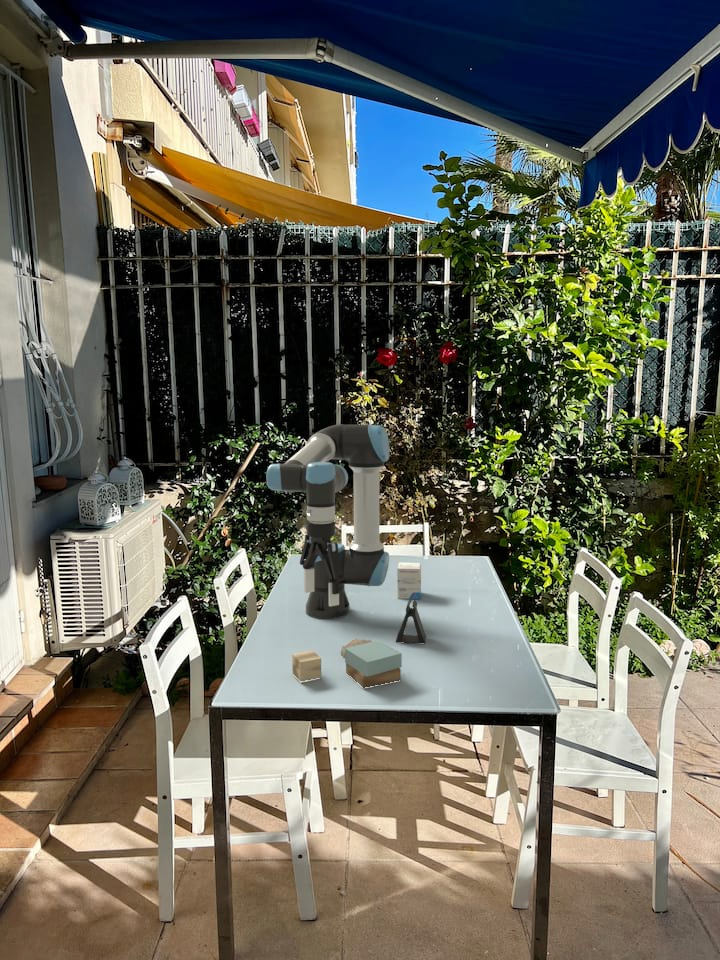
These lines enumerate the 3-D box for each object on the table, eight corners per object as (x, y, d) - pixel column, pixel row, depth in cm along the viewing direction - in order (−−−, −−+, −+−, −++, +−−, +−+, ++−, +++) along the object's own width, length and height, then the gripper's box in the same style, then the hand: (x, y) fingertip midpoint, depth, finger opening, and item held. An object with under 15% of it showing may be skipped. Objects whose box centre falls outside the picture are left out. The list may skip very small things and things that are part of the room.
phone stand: (395, 642, 218) (395, 604, 216) (397, 635, 224) (398, 598, 222) (424, 644, 217) (425, 606, 215) (426, 637, 222) (427, 600, 221)
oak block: (292, 674, 195) (292, 654, 194) (312, 671, 198) (312, 650, 197) (300, 683, 190) (300, 662, 189) (321, 679, 192) (321, 658, 191)
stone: (333, 649, 214) (333, 640, 214) (369, 643, 218) (369, 635, 218) (347, 663, 203) (347, 654, 203) (385, 657, 208) (385, 648, 207)
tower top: (345, 662, 195) (345, 648, 194) (378, 653, 201) (378, 640, 200) (367, 676, 186) (367, 662, 185) (401, 667, 191) (401, 653, 191)
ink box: (421, 592, 267) (421, 562, 265) (420, 599, 259) (421, 568, 257) (398, 591, 268) (398, 561, 266) (396, 598, 259) (397, 567, 258)
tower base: (346, 674, 196) (346, 661, 195) (381, 667, 201) (381, 654, 200) (363, 691, 186) (363, 676, 186) (400, 683, 191) (400, 669, 190)
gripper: (287, 514, 197) (288, 588, 200) (331, 531, 176) (332, 613, 179) (311, 511, 201) (311, 584, 204) (357, 528, 180) (357, 608, 183)
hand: (321, 598), depth 192 cm, fingers open, 13 cm apart
